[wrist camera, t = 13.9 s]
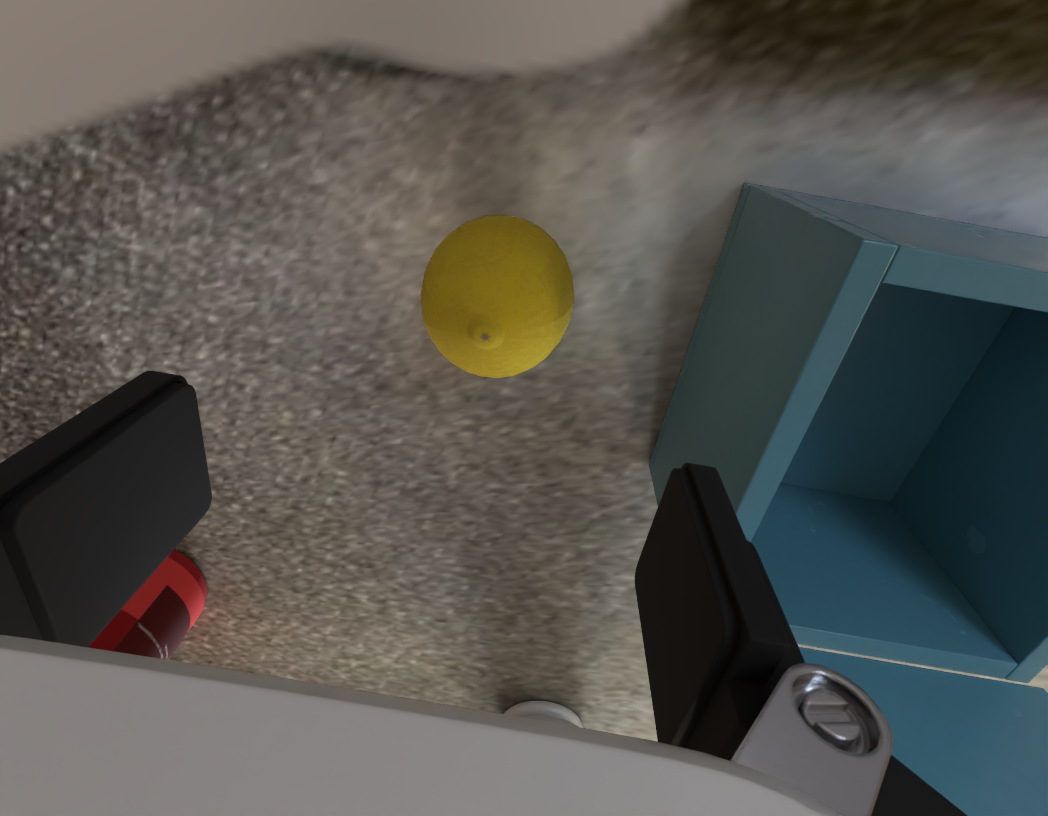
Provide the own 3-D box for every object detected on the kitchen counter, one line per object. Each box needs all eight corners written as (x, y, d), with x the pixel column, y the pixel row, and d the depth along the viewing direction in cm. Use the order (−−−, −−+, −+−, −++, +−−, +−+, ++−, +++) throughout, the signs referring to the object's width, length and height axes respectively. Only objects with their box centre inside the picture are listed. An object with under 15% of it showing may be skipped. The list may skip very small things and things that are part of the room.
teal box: (744, 182, 21) (863, 238, 13) (1061, 240, 21) (1389, 334, 13) (648, 464, 28) (683, 625, 20) (889, 506, 28) (1028, 684, 20)
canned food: (63, 551, 35) (-130, 724, 25) (153, 516, 32) (-20, 690, 23) (149, 627, 38) (8, 805, 28) (236, 599, 36) (115, 782, 26)
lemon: (467, 337, 25) (429, 427, 18) (428, 217, 23) (367, 269, 16) (584, 312, 24) (591, 398, 17) (557, 183, 22) (552, 223, 15)
